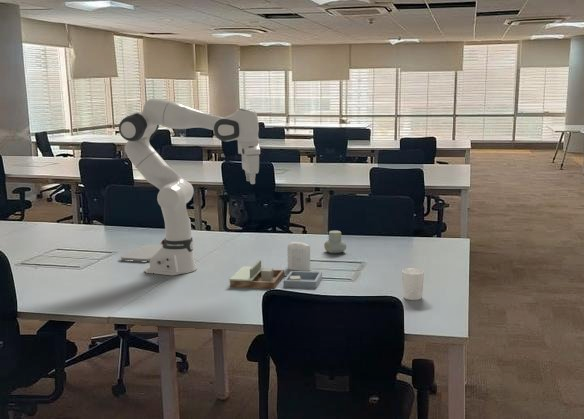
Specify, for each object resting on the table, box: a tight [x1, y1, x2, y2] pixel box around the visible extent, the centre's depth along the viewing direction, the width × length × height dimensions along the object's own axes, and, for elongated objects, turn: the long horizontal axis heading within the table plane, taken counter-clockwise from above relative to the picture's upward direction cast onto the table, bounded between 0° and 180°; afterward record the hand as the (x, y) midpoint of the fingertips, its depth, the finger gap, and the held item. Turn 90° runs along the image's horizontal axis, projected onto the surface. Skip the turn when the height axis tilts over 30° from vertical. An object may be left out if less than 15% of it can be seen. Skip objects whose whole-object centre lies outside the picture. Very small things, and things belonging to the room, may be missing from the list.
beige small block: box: [261, 267, 274, 282], centre depth 258 cm, size 4×4×5 cm
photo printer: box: [287, 241, 311, 272], centre depth 275 cm, size 10×4×12 cm, turn 60°
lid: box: [228, 259, 265, 281], centre depth 260 cm, size 9×19×4 cm, turn 168°
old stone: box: [290, 276, 301, 281], centre depth 254 cm, size 4×4×3 cm
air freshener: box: [323, 230, 347, 254], centre depth 305 cm, size 11×8×10 cm
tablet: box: [120, 244, 162, 261], centre depth 309 cm, size 16×26×2 cm, turn 164°
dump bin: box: [282, 270, 323, 289], centre depth 257 cm, size 13×14×3 cm
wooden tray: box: [229, 269, 286, 290], centre depth 259 cm, size 18×18×3 cm
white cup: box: [401, 268, 425, 301], centre depth 235 cm, size 8×8×10 cm
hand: (250, 182), depth 263 cm, fingers open, 8 cm apart
